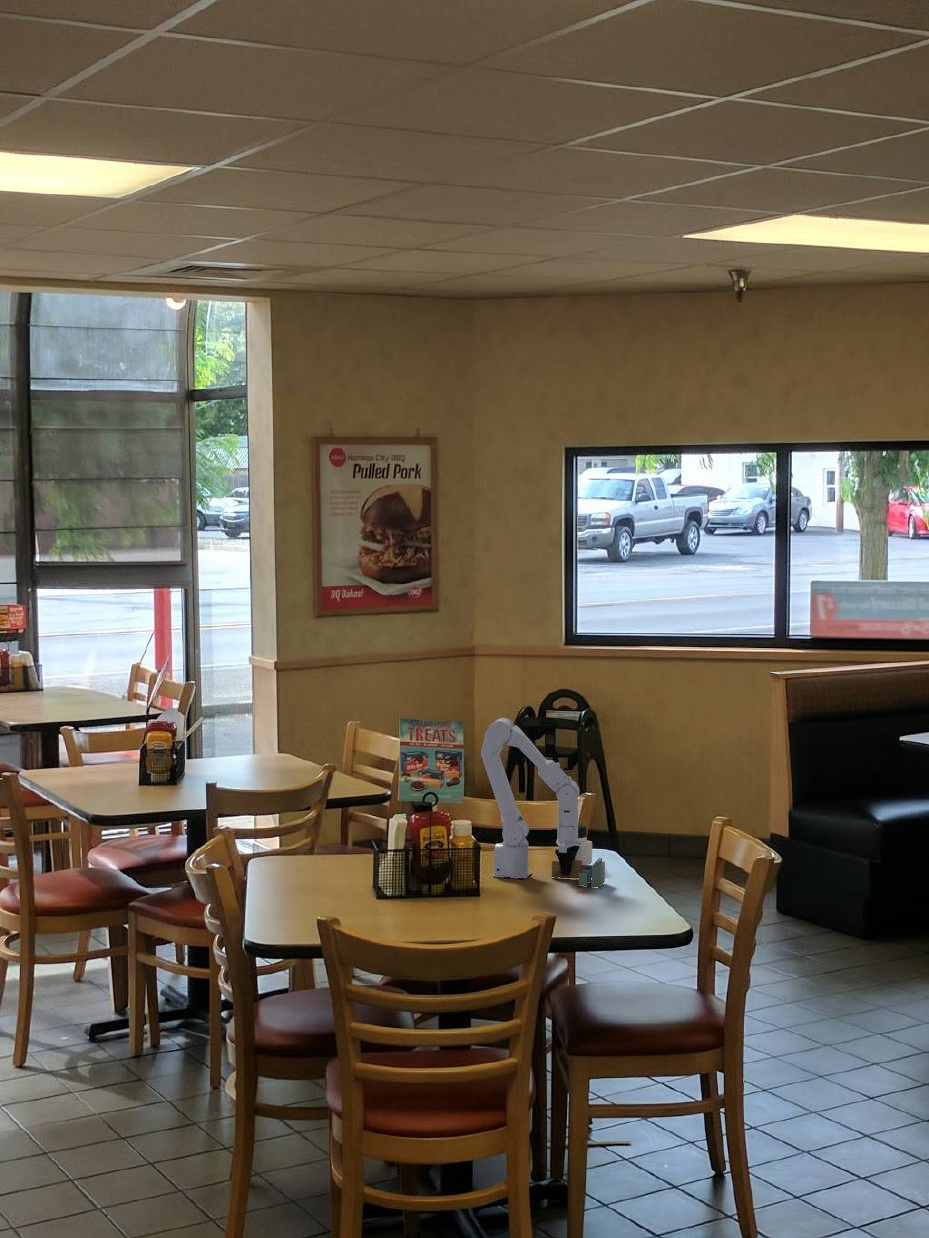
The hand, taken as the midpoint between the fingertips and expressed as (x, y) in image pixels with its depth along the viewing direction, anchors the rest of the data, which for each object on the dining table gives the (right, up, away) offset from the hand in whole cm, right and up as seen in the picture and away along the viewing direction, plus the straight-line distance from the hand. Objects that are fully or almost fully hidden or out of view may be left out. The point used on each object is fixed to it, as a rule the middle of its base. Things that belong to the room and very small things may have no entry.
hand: (567, 873), depth 404 cm
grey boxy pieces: (+6, -2, -8) cm, 10 cm away
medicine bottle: (+4, -1, +16) cm, 16 cm away
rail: (+2, -1, 0) cm, 2 cm away
